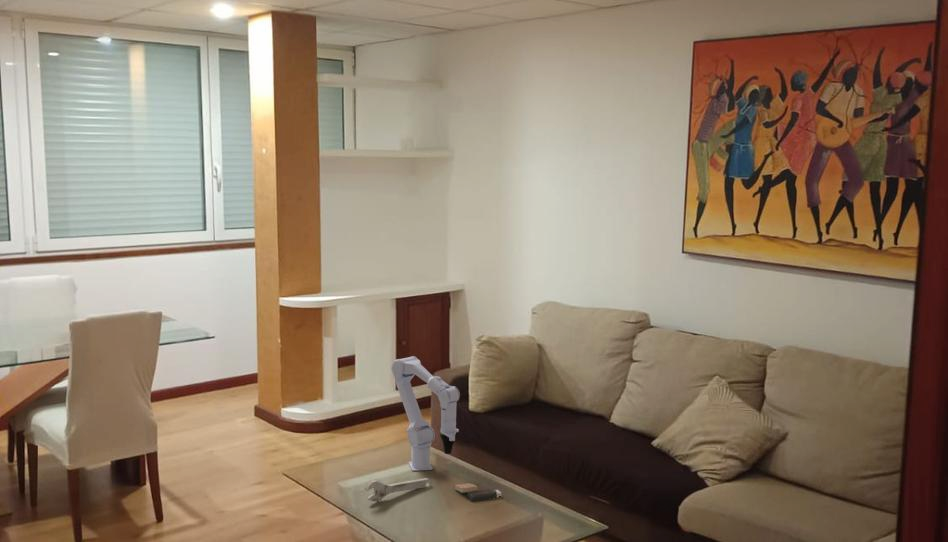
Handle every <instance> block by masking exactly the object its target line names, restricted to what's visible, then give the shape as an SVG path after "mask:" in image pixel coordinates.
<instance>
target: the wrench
mask: <svg viewBox="0 0 948 542" xmlns="http://www.w3.org/2000/svg"><path fill="white" fill-rule="evenodd" d="M426 482H427V483H426ZM431 483H432V480H431V479H429V478H428V477H424V478H418V479H413V480H407V481H401V482H395V483H389V484H387V483H383V482H380V481H378V480H375V479H372V480H370V481H369V482H368V483H367V484H366V485H365V487H364V490H365V491H367V492H368V491H370V490H371V489H373V490H374V491H373V493H372V494H370V495H369V496H367V500H369V501H371V502H377V501H378V502H377V503H381V502H382V501H383V499H384V498H385V497H386V496H388V495H389V494H393V493H398V492H405V491H411V490H417V489H422V488H428V487H430V486H431Z"/></svg>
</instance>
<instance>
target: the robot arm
mask: <svg viewBox="0 0 948 542" xmlns="http://www.w3.org/2000/svg"><path fill="white" fill-rule="evenodd" d="M421 362H422V361H421V360H420V359H418V358H417V356H415V355H412V356H409V357H404V358H398V359H394V361H393V362H392V364H391V365H392V366H391V369H390V370H391V371H392V375H393V377H394V379H395V380H394V381H395V385H396V387H397V390H398V394H399V396H400V399H401V401H402V404H403V407H404V410H405V413H406V416H407V419H408V422H409V426H408V427H407V429H406V433H407V441H408V443H409V444H410V446H411V449H410V450H411V451H410V453H411V454H410V455H411V458H410V459H411V460H410V461H408V465H409V467H410V468H411V470H412V471H413V472H416V471H417V472H418V471H432V470H433V466H432V465H431V445H432V443H433V441H434V440H435V438H436V433H435V430H434V429H433V428H432V426H431V425H430V422H429V421H427V420H425V419H424V418H423V415H422V412H421V410H420V406H419V404H418V401H417V398H416V396H415V392H414V389H413V387H412V383H411V381H412V379H414V377H415V376H417V377H418V378H419V379H421V381H423V382H424V383H426V384H427V388H428V389H429V390H430V391H431V392H433V393H434V394H435V395H436V396H437V397H438V400H439V403H440V404H439V406H440V408H441V410H440V413H441V414H440V416H441V417H440V430H439V431H440V433H441V434H439V436H440V438H441V441H442V446H443V451H444V454H445V455H451V453H452V450H453V446H454V443H455V442H456V440H457V436H456V434H457V433H459V432H460V430H459V429H458V428H457V402H458V401H459V400H460V397H461V393H460V390H459V389H458V387H457V386H454V385H453V386H452V385H450V384H448V383H447V382H446V381H444V380H443V379H442V378H441V376H440V375H439V376H437V375H436V376H435V375H432V374H431V373H430V372H429V370H427V369H426V367H424V366H423V365H422V363H421Z"/></svg>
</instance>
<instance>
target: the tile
mask: <svg viewBox="0 0 948 542" xmlns="http://www.w3.org/2000/svg"><path fill="white" fill-rule="evenodd" d="M478 488H479V487H478V485H476V484H472V483H470V482H468V483H461V484H454V490H455V491H457V492H460V493H462V494H463V493H468V492H472V491H479V489H478Z"/></svg>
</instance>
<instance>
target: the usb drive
mask: <svg viewBox="0 0 948 542" xmlns="http://www.w3.org/2000/svg"><path fill="white" fill-rule="evenodd" d="M499 496H501V497H502V492H501V491H500V490H499V489H494V488H488V489H481V490H479V489H478V491H472V492H466V496H465V497H466V498H467V499H468V500H469V501H470V502H471V503H475V502H476V503H477V502H482V501H488V500H489V499H491V500H494V499H493V498H495V499H497V498H500V497H499ZM496 497H497V498H496ZM489 501H490V500H489Z"/></svg>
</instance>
